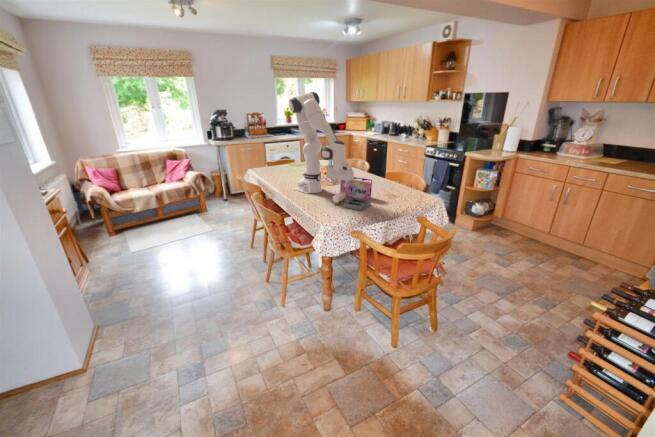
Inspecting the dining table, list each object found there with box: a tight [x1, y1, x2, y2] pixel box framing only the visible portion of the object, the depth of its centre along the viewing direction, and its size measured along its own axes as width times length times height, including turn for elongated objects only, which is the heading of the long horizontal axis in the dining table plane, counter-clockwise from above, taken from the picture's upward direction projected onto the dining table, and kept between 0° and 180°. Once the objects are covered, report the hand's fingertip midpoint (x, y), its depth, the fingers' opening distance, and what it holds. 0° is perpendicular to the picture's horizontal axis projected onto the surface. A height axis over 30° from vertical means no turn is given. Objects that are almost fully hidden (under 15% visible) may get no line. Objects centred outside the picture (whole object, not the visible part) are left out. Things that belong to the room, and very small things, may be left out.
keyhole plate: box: [342, 197, 372, 212], centre depth 203 cm, size 14×14×2 cm
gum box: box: [339, 176, 373, 201], centre depth 219 cm, size 24×8×14 cm, turn 57°
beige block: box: [332, 192, 346, 205], centre depth 209 cm, size 4×11×6 cm, turn 148°
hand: (339, 185), depth 205 cm, fingers open, 8 cm apart
